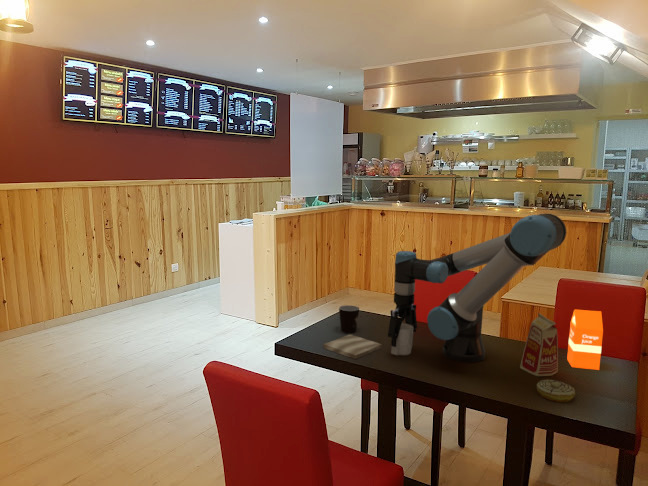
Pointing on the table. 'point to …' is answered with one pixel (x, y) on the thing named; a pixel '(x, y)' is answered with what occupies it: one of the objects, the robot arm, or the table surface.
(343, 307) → the coffee mug
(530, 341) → the milk carton
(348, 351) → the board
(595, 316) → the orange juice
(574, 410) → the table surface
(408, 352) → the white cup
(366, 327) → the table surface
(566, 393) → the decorated donut
